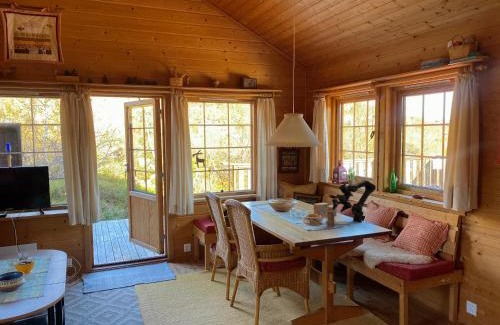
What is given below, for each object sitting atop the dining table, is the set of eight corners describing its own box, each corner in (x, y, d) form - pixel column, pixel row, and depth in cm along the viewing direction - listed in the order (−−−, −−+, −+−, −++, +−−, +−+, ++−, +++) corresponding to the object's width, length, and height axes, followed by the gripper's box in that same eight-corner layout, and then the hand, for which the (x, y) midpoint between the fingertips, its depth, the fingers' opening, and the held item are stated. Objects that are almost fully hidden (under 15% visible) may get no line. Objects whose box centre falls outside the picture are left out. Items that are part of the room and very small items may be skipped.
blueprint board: (346, 222, 334) (346, 219, 334) (349, 225, 323) (349, 222, 323) (325, 221, 334) (325, 219, 333) (328, 225, 323) (328, 222, 322)
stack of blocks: (332, 214, 364) (333, 202, 363) (336, 216, 358) (336, 203, 357) (313, 216, 356) (313, 203, 355) (316, 217, 350) (317, 204, 349)
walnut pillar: (330, 225, 321) (331, 211, 320) (334, 226, 318) (334, 211, 317) (327, 226, 319) (327, 211, 318) (330, 227, 316) (331, 212, 315)
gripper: (333, 189, 330) (324, 203, 325) (350, 192, 315) (340, 206, 310) (339, 197, 335) (330, 211, 330) (356, 201, 320) (346, 215, 315)
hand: (336, 210), depth 321 cm, fingers open, 9 cm apart
